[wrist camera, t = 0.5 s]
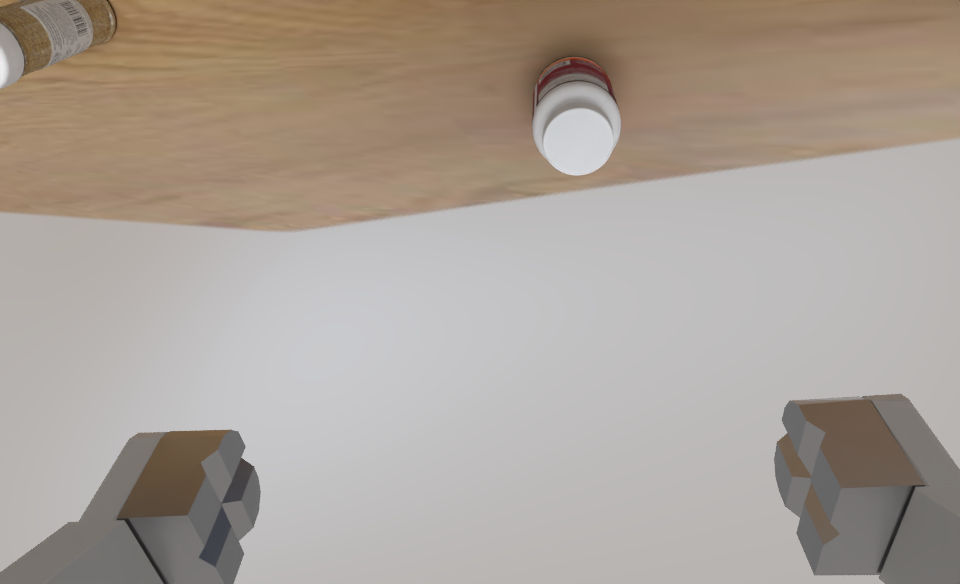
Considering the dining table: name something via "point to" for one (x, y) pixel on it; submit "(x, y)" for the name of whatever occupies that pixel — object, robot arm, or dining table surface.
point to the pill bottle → (575, 116)
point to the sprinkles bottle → (49, 33)
